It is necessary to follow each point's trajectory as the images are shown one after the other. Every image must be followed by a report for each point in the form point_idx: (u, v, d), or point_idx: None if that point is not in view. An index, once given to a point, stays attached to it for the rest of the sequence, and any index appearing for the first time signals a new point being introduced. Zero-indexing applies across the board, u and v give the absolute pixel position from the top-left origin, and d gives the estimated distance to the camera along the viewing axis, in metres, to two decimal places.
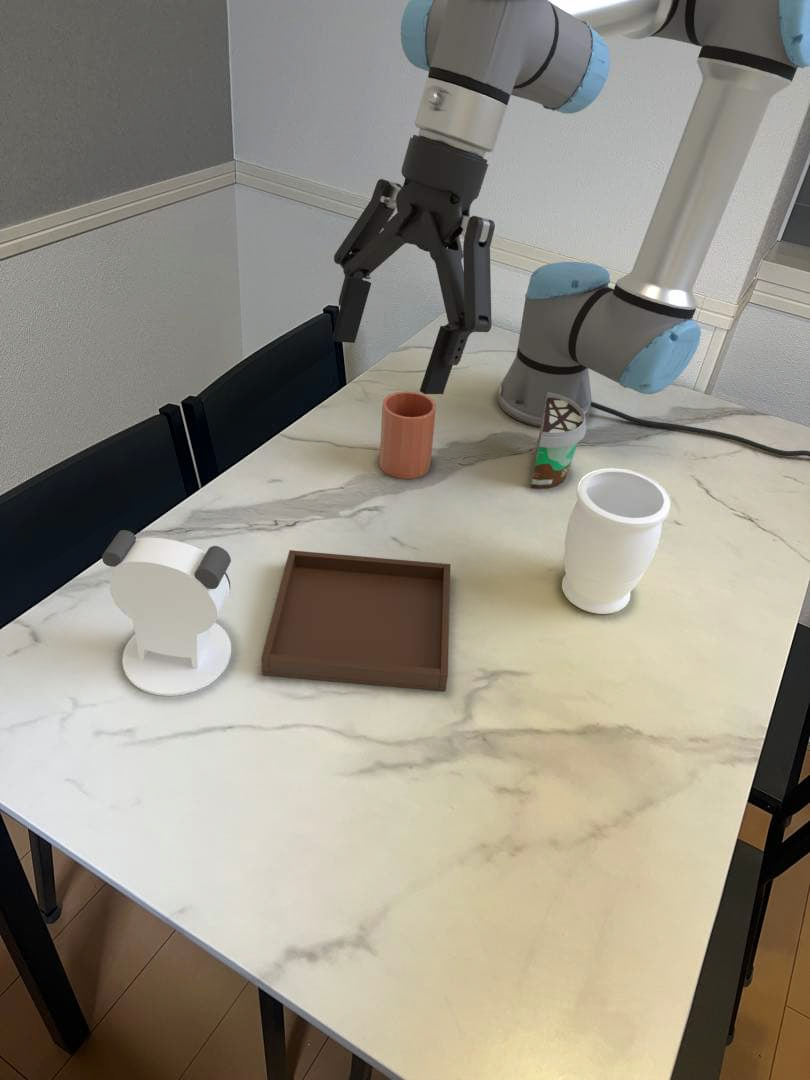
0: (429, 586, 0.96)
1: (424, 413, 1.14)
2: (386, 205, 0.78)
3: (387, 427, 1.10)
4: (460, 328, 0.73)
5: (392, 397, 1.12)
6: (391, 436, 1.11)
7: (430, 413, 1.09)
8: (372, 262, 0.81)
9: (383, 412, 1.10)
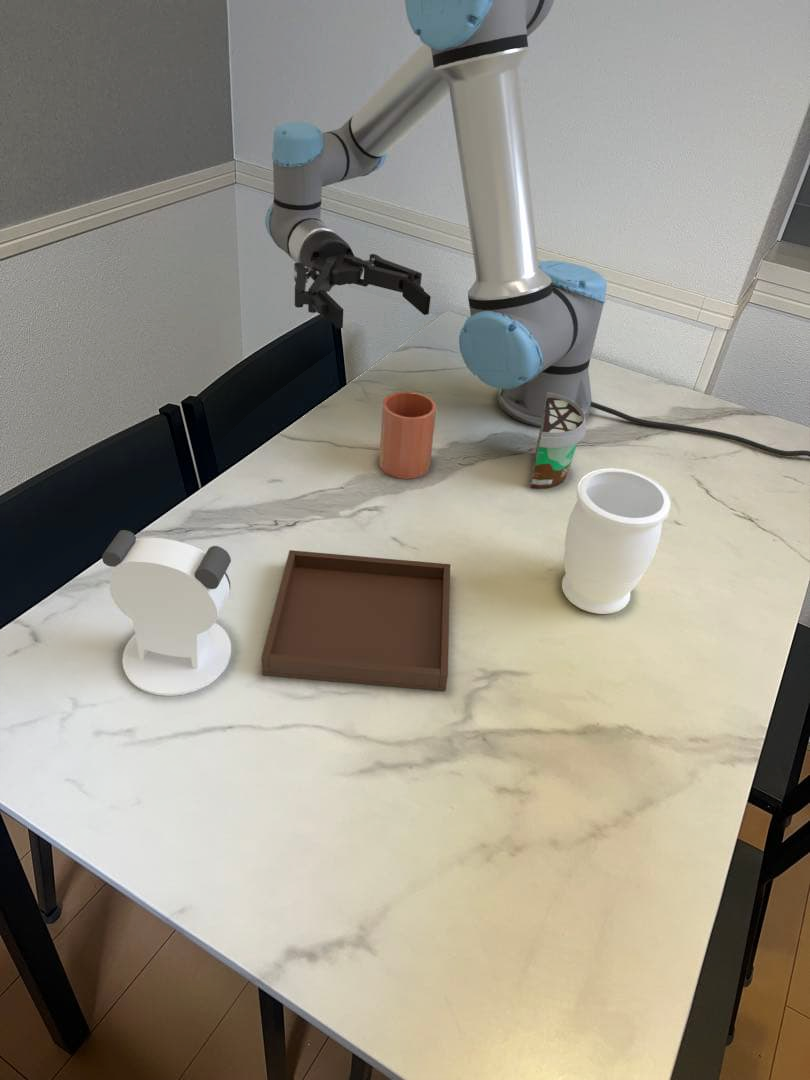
0: (429, 586, 0.96)
1: (424, 413, 1.14)
2: None
3: (387, 427, 1.10)
4: None
5: (392, 397, 1.12)
6: (391, 436, 1.11)
7: (430, 413, 1.09)
8: (391, 282, 1.19)
9: (383, 412, 1.10)
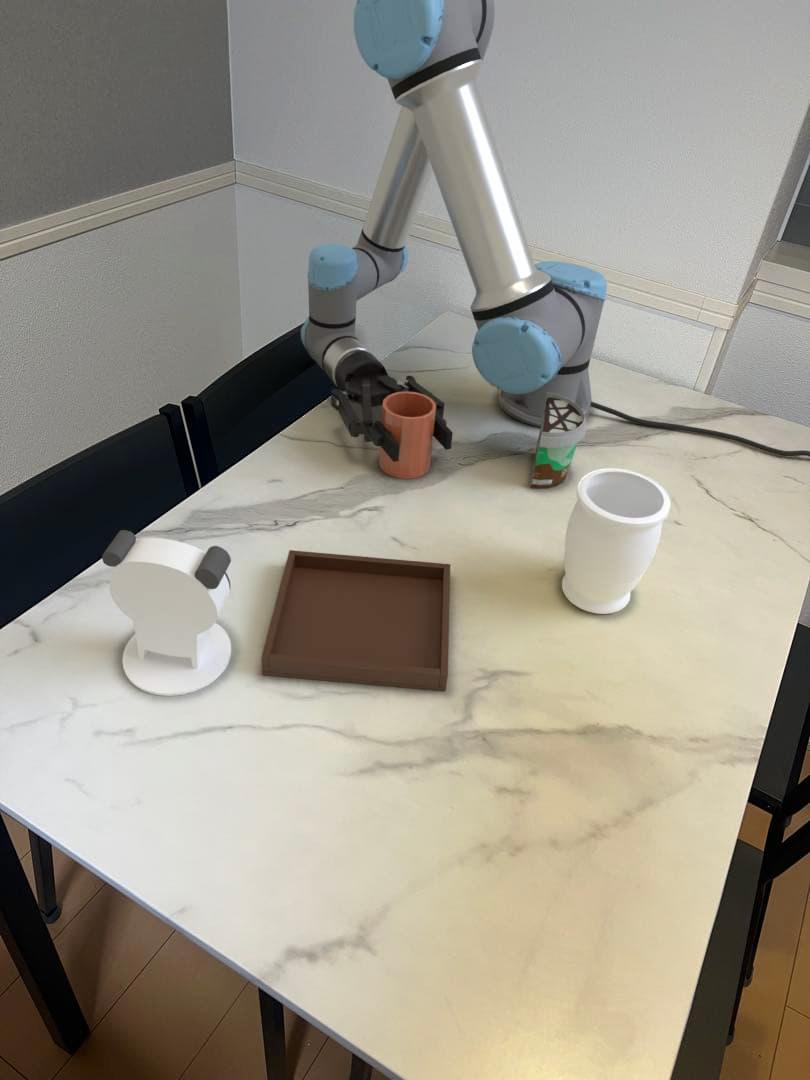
0: (429, 586, 0.96)
1: (424, 413, 1.14)
2: None
3: (387, 427, 1.10)
4: None
5: (392, 397, 1.12)
6: None
7: (430, 413, 1.09)
8: None
9: (383, 412, 1.10)
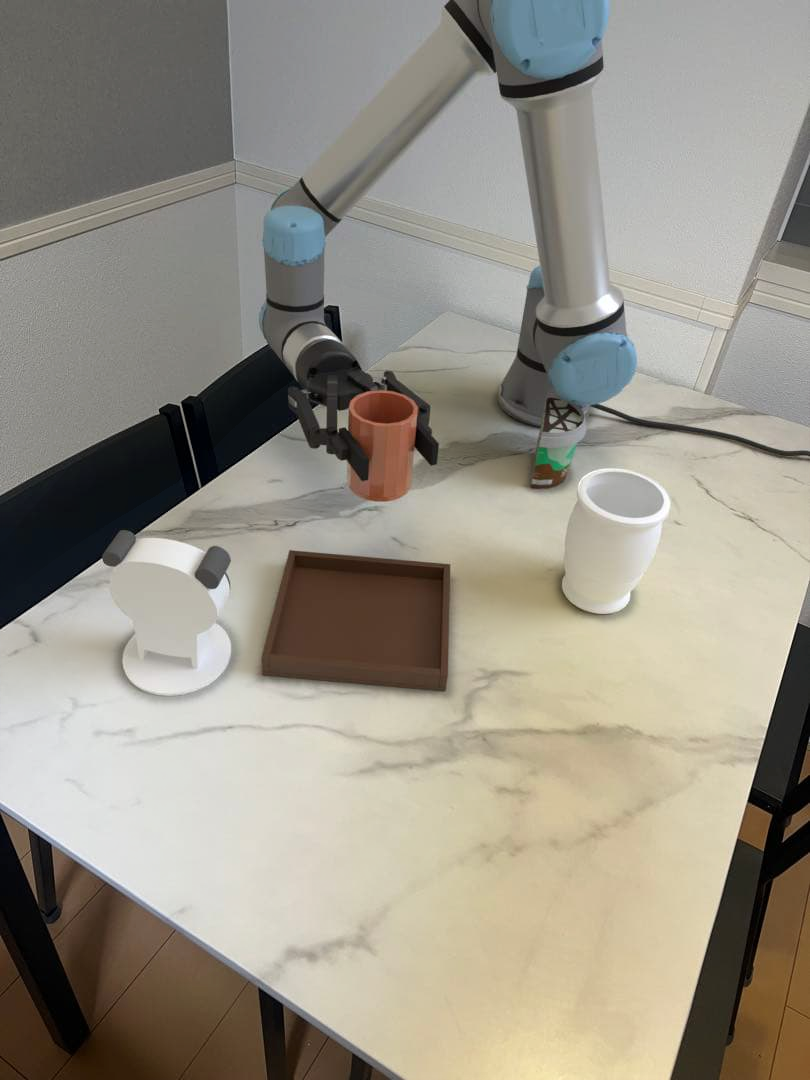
0: (429, 586, 0.96)
1: (403, 418, 0.90)
2: None
3: (354, 436, 0.86)
4: (327, 444, 0.88)
5: (363, 397, 0.88)
6: None
7: (410, 418, 0.85)
8: None
9: (349, 417, 0.86)
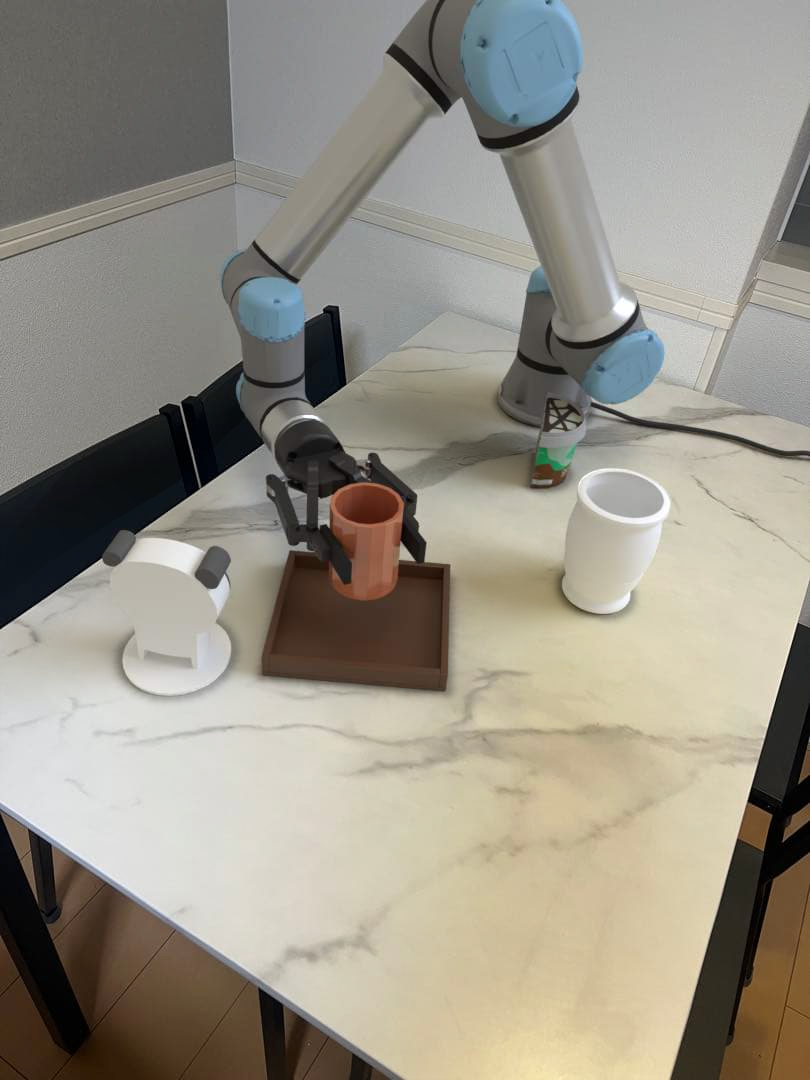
0: (429, 586, 0.96)
1: (389, 511, 0.84)
2: None
3: (336, 535, 0.80)
4: None
5: (345, 491, 0.82)
6: (342, 547, 0.80)
7: (395, 517, 0.79)
8: None
9: (331, 515, 0.80)
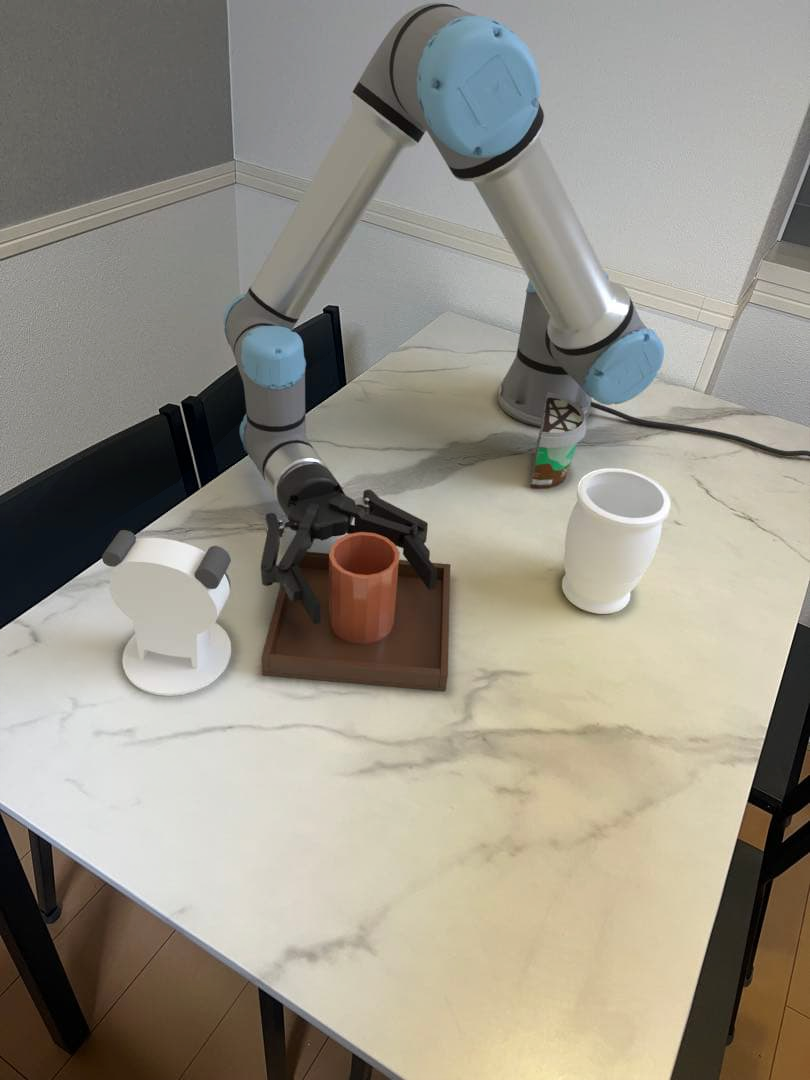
0: None
1: (385, 559, 0.88)
2: (367, 511, 0.97)
3: (335, 584, 0.85)
4: None
5: (343, 541, 0.87)
6: (340, 595, 0.85)
7: (391, 568, 0.84)
8: (389, 536, 0.93)
9: (330, 565, 0.84)
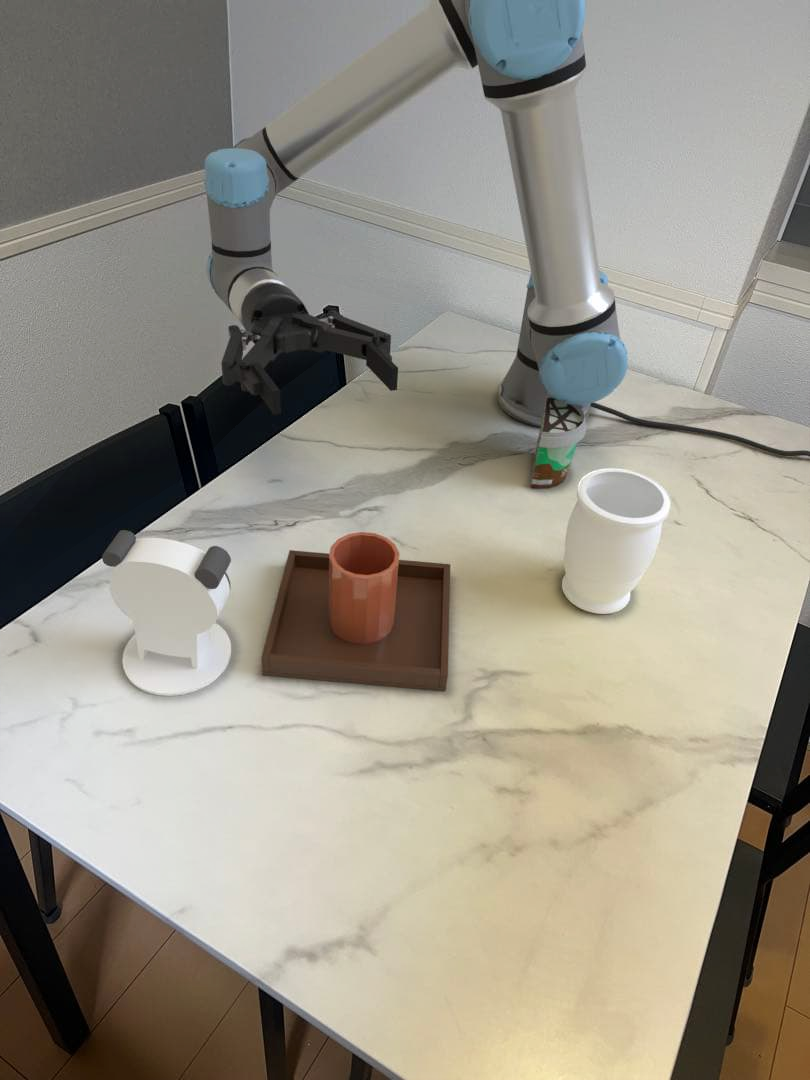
0: (429, 586, 0.96)
1: (385, 559, 0.88)
2: None
3: (335, 584, 0.85)
4: None
5: (343, 541, 0.87)
6: (340, 595, 0.85)
7: (391, 568, 0.84)
8: (352, 347, 0.93)
9: (330, 565, 0.84)
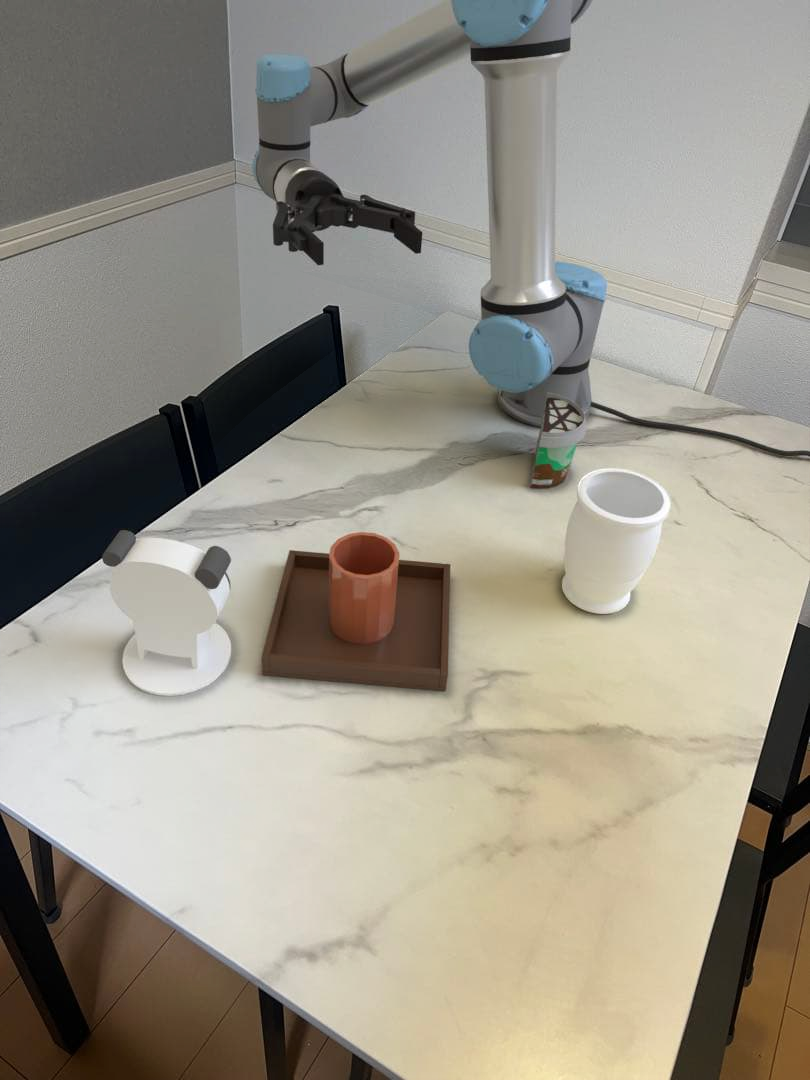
0: (429, 586, 0.96)
1: (385, 559, 0.88)
2: None
3: (335, 584, 0.85)
4: (289, 242, 1.02)
5: (343, 541, 0.87)
6: (340, 595, 0.85)
7: (391, 568, 0.84)
8: (381, 222, 1.08)
9: (330, 565, 0.84)
